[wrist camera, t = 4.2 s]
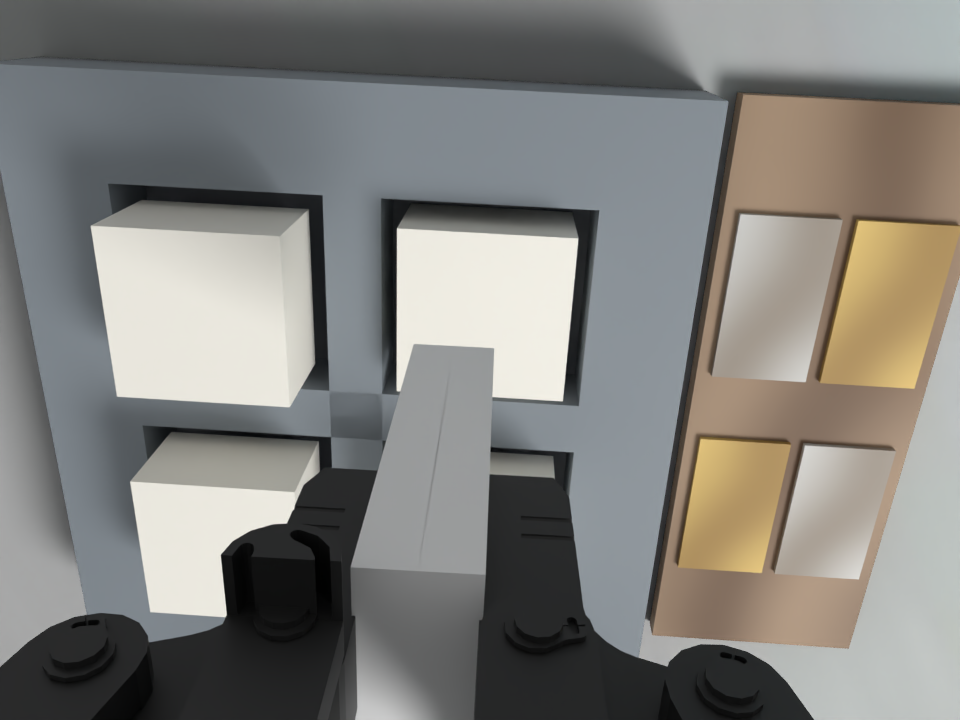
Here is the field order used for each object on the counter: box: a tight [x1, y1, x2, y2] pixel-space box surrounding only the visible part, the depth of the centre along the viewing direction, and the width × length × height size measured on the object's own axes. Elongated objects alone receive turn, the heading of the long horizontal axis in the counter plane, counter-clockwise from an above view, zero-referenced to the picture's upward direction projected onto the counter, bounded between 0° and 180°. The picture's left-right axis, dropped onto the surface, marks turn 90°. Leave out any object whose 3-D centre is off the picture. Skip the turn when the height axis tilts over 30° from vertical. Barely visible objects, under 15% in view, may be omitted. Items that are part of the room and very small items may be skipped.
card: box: [650, 92, 960, 649], centre depth 23 cm, size 6×17×1 cm, turn 178°
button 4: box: [130, 432, 320, 617], centre depth 22 cm, size 4×4×3 cm
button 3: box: [91, 200, 315, 407], centre depth 20 cm, size 4×4×3 cm
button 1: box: [397, 203, 578, 401], centre depth 21 cm, size 4×4×3 cm
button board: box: [0, 57, 729, 658], centre depth 23 cm, size 17×17×2 cm
